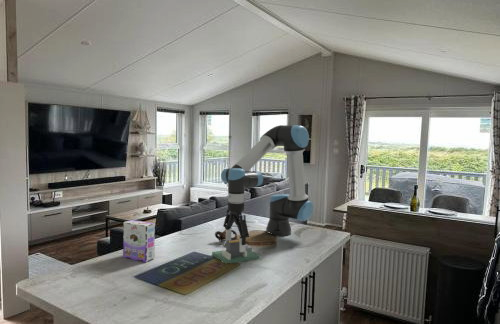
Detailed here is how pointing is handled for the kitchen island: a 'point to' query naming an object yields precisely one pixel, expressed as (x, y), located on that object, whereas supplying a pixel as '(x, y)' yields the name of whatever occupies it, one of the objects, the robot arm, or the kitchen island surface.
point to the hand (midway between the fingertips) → (235, 247)
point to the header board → (244, 256)
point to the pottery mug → (224, 235)
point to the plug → (233, 248)
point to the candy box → (138, 240)
